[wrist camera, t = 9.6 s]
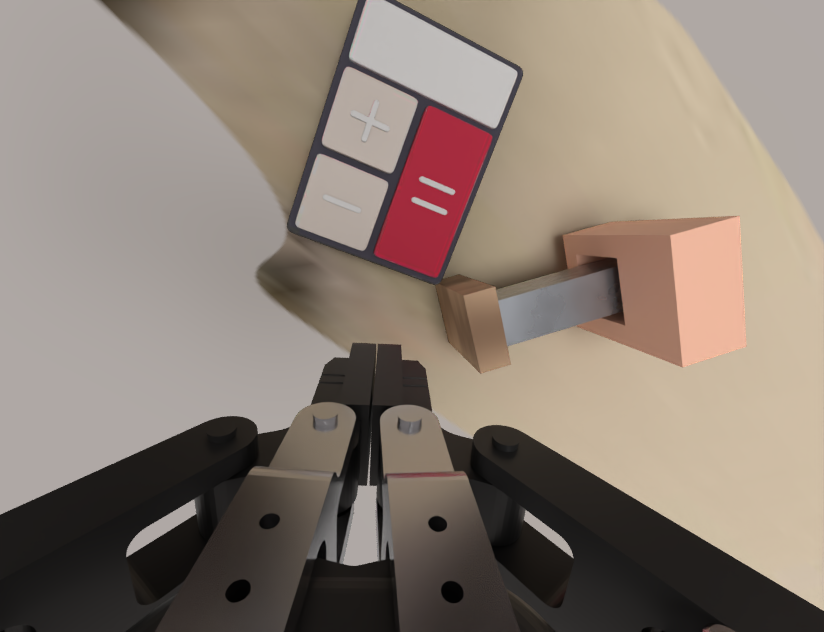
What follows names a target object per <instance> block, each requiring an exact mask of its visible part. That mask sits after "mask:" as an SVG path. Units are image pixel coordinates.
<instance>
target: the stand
mask: <svg viewBox="0 0 824 632" xmlns="http://www.w3.org/2000/svg"><path fill="white" fill-rule="evenodd" d="M435 286H436V290H437V295H438V299H439V303H440V307H441V311H442V316H443V320H444V324H445V328H446V333H447V337H448V341H449V343H450V344H451V345H452V346H453V347H454V348H455V349H456V350H457V351H458V352H459V353H460V354H461V355H462V356H463V357H464V358H465V359H466V360H467V361H468V362H469V363H470V364H471V365H472V366H473V367H474V368H475V369H476V370H477V371H478V372H480V373H484V372H487V371H491V370H494V369H497V368H500V367H504V366H507V365H510V364H511V362H510V357H509V352H508V347H507V342H506V337H505V332H504V327H503V322H502V317H501V312H500V307H499V303H498V298H497V293H496V288H495V286H492V285H489V284H486V283H483V282H480V281H477V280H474V279H471V278H468V277H465V276H462V275H456V276H452V277H448V278H445V279H442V281H441V282H440V283H439V284H437V285H435Z"/></svg>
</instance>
